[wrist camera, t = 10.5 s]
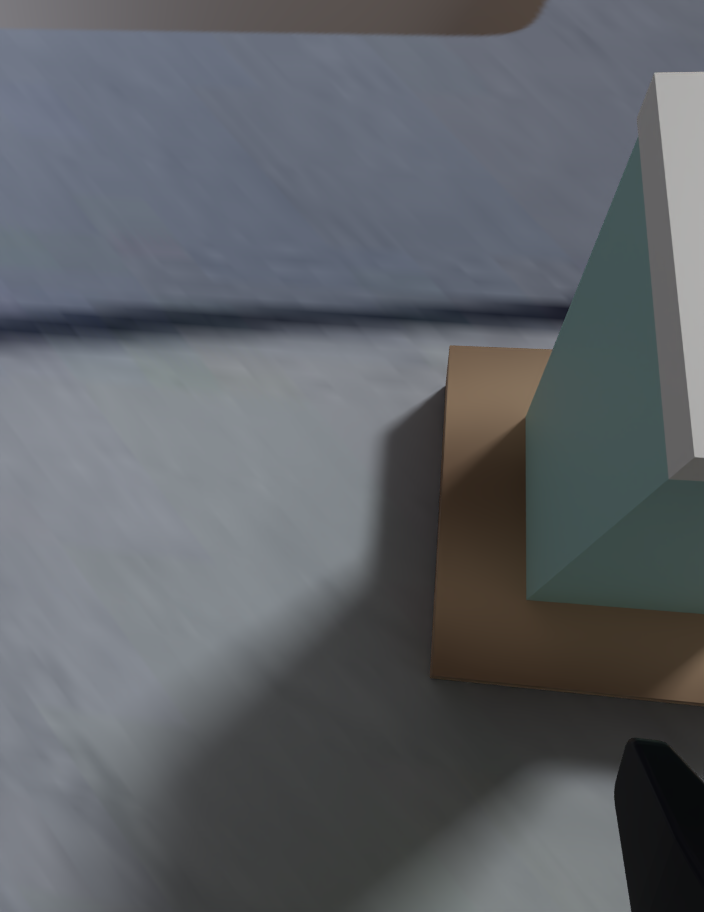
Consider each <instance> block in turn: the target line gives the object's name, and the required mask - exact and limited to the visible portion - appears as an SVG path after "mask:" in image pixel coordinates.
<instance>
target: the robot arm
mask: <svg viewBox="0 0 704 912" xmlns="http://www.w3.org/2000/svg"><path fill="white" fill-rule="evenodd" d="M614 800H615V809H616V815H617V822H618V828H619V835H620V841H621V848H622V854H623V861H624V867H625V874H626V880H627V887H628V893H629V900H630V906H631V912H704V782H703V781H702V780H701V779H700V778H699V777H698V776H697V774H696V773H695V772H694V771H693V770H692V769H691V768H690V767H689V766H688V765H687V764H686V763H685V762H684V760H683V759H682V758H681V757H680V756H679V755H678V754H677V753H676V752H675V751H674V750H673V749H672V748H671V747H670V746H669V745H668V744H666V743H665V742H662V741H658V740H649V739H640V738H631V739H630V740H629V741H628V742H627V744H626V746H625V749H624V753H623V757H622V760H621V764H620V768H619V771H618V775H617V778H616V782H615V789H614Z"/></svg>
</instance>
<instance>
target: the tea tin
mask: <svg viewBox="0 0 704 912" xmlns="http://www.w3.org/2000/svg"><path fill="white" fill-rule="evenodd" d="M637 125H638V138H637V141H636V143H635V146H634V148H633V151H632V153H631V156H630V158H629V161H628V163H627V166H626V168H625V171H624V173H623V176H622V178H621V181H620V183H619V186H618V188H617V191H616V193H615V196H614V198H613V201H612V203H611V206H610V208H609V211H608V213H607V215H606V218H605V220H604V223H603V225H602V228H601V230H600V233H599V235H598V238H597V240H596V243H595V245H594V248H593V250H592V253H591V255H590V258H589V260H588V263H587V265H586V268H585V270H584V273H583V275H582V278H581V280H580V283H579V285H578V288H577V290H576V293H575V295H574V298H573V300H572V303H571V305H570V308H569V310H568V313H567V315H566V318H565V320H564V323H563V325H562V327H561V330H560V332H559V335H558V337H557V340H556V342H555V345H554V347H553V350H552V352H551V355H550V357H549V360H548V362H547V365H546V367H545V370H544V372H543V375H542V377H541V380H540V382H539V385H538V387H537V390H536V392H535V395H534V397H533V400H532V402H531V405H530V407H529V410H528V412H527V415H526V600H533V601H545V602H558V603H570V604H583V605H596V606H608V607H621V608H633V609H646V610H659V611H671V612H684V613H697V614H704V72H670V73H654V75H653V78H652V80H651V83H650V86H649V88H648V91H647V93H646V96H645V99H644V101H643V104H642V106H641V109H640V111H639V114H638V117H637Z"/></svg>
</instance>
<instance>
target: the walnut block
mask: <svg viewBox="0 0 704 912" xmlns="http://www.w3.org/2000/svg"><path fill="white" fill-rule="evenodd" d="M551 352H552V350H550V349H525V348H500V347H475V346H450V348H449V358H448V367H447V377H446V388H445V407H444V425H443V444H442V462H441V481H440V499H439V518H438V536H437V555H436V573H435V592H434V610H433V629H432V647H431V666H430V678H434V679H443V680H453V681H463V682H472V683H482V684H492V685H501V686H511V687H521V688H530V689H540V690H550V691H559V692H569V693H578V694H588V695H598V696H607V697H617V698H627V699H636V700H646V701H656V702H665V703H675V704H685V705H694V706H704V614H697V613H684V612H671V611H659V610H646V609H633V608H621V607H608V606H596V605H583V604H570V603H558V602H545V601H533V600H526V415H527V412H528V410H529V407H530V405H531V402H532V400H533V397H534V395H535V392H536V390H537V387H538V385H539V382H540V380H541V377H542V375H543V372H544V370H545V367H546V365H547V362H548V360H549V357H550V355H551Z"/></svg>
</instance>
